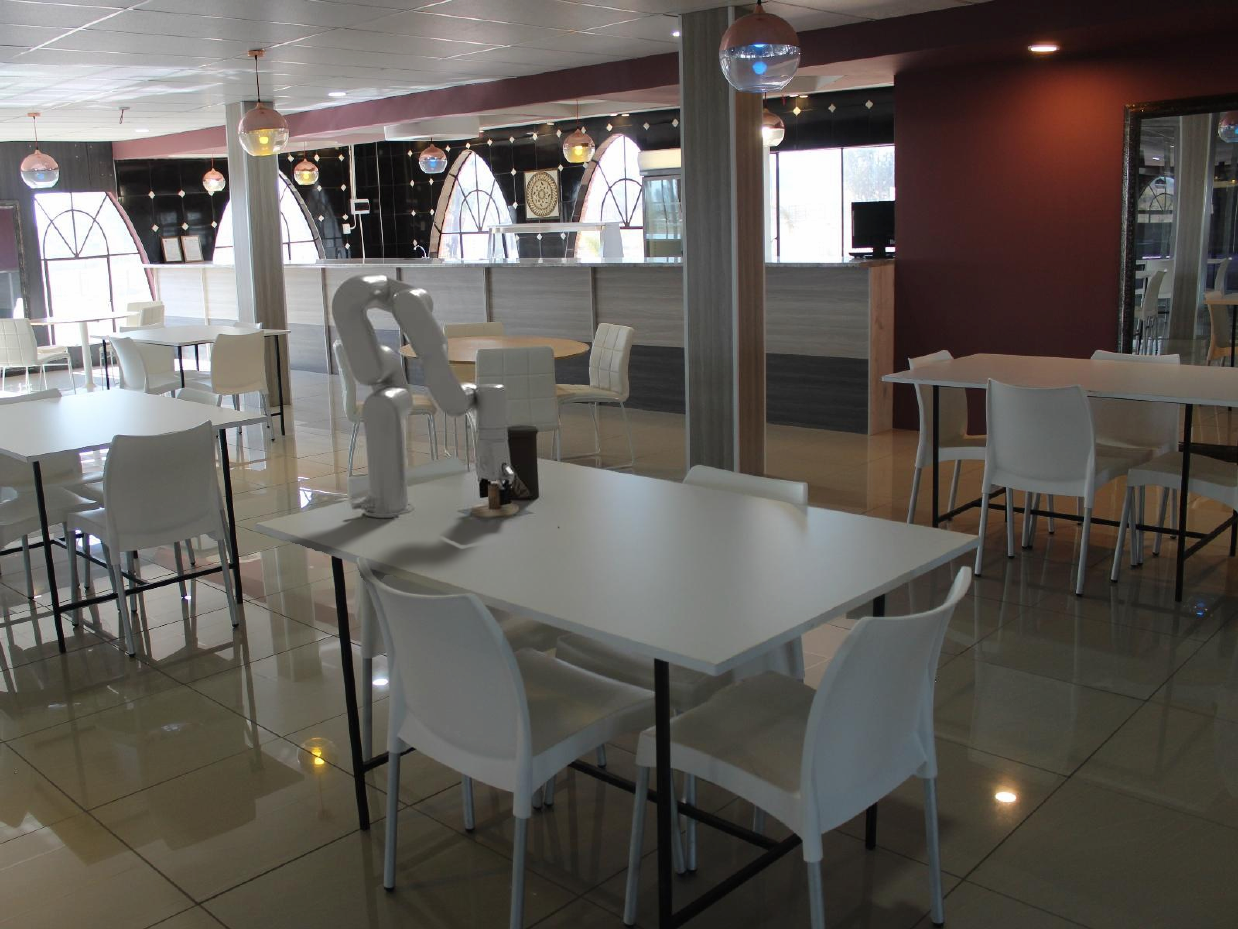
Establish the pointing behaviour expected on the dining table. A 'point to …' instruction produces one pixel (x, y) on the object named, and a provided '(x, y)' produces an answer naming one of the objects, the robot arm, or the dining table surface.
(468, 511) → the mat
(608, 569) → the dining table surface
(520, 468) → the container
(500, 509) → the lid
